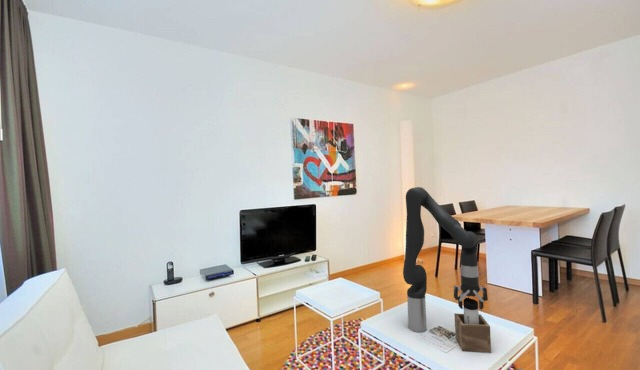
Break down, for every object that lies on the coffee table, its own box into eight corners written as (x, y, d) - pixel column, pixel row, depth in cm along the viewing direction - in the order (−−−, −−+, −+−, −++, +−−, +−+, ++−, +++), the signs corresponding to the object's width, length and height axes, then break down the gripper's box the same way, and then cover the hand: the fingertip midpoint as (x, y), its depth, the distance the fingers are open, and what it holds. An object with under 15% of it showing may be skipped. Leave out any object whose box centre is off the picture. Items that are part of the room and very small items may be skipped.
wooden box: (455, 337, 145) (454, 313, 146) (481, 339, 143) (480, 314, 143) (462, 351, 134) (461, 324, 134) (491, 352, 131) (490, 326, 131)
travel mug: (474, 338, 142) (473, 297, 142) (482, 345, 136) (480, 302, 136) (462, 338, 142) (460, 297, 142) (469, 346, 136) (467, 303, 135)
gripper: (482, 272, 141) (484, 306, 141) (451, 271, 144) (452, 304, 144) (488, 277, 134) (490, 312, 133) (455, 276, 136) (456, 311, 136)
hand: (470, 308), depth 139 cm, fingers open, 8 cm apart
